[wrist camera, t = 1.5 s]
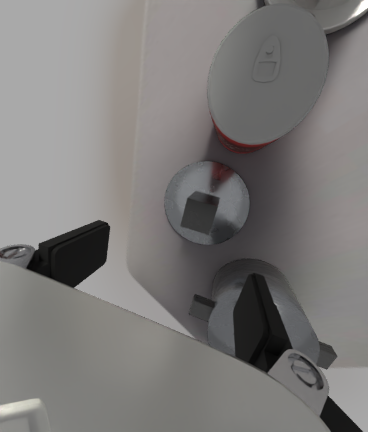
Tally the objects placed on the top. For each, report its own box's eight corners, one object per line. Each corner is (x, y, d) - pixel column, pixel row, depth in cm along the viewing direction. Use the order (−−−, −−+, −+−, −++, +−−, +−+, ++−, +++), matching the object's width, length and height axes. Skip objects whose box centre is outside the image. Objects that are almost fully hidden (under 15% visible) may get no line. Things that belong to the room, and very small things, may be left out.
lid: (175, 152, 25) (158, 147, 18) (262, 173, 23) (276, 176, 17) (160, 228, 29) (140, 246, 23) (232, 252, 27) (234, 279, 21)
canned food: (278, 75, 20) (334, -25, 9) (279, 147, 22) (328, 130, 11) (211, 94, 22) (198, 29, 11) (218, 159, 24) (212, 152, 13)
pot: (209, 243, 27) (201, 277, 19) (322, 280, 25) (372, 339, 16) (191, 299, 31) (178, 348, 23) (287, 336, 29) (312, 407, 20)
